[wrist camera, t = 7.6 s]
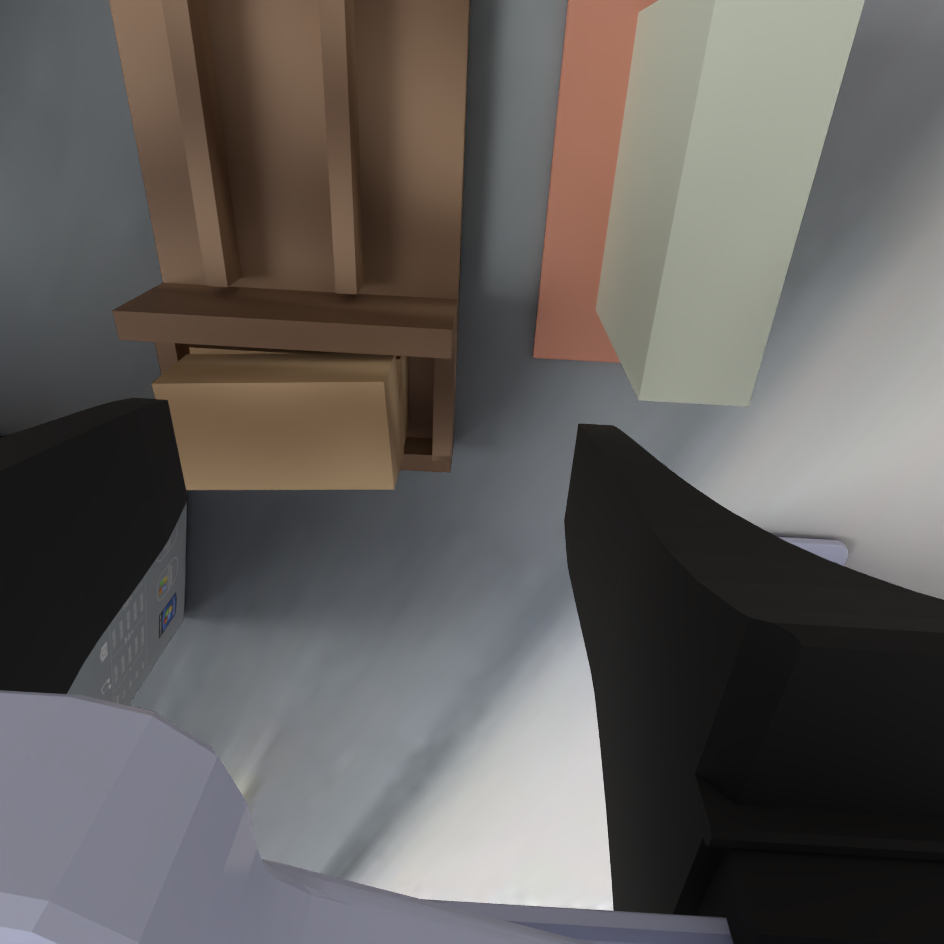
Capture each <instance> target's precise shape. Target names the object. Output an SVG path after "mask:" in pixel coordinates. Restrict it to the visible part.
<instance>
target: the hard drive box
mask: <svg viewBox="0 0 944 944" xmlns="http://www.w3.org/2000/svg"><path fill="white" fill-rule="evenodd" d="M0 438H1V437H0ZM186 491H187V490H186ZM186 516H187V502H186V504H185V507H184V509H183V511H182V513H181V516H180V518H179V520H178V522H177V524H176V526H175V528H174V530H173V532H172V534H171V536H170V538H169V540H168V542H167V544H166V545H165V547H164V548H163V550H162V551H161V553H160V554H159V556H158V557H157V558H156V560H155V561H154V563H153V564H152V566H151V567H150V568H149V570H148V571H147V573H146V574H145V576H144V577H143V579H142V580H141V581H140V583H139V584H138V586H137V587H136V588H135V590H134V591H133V593H132V594H131V595H130V597H129V598H128V600H127V601H126V602H125V604H124V605H123V607H122V608H121V609H120V611H119V612H118V614H117V615H116V616H115V618H114V619H113V621H112V622H111V624H110V625H109V626H108V628H107V629H106V631H105V632H104V633H103V635H102V636H101V638H100V639H99V640H98V642H97V644H96V645H95V647H94V648H93V650H92V651H91V653H90V654H89V656H88V658H87V659H86V661H85V662H84V664H83V666H82V667H81V669H80V671H79V673H78V675H77V677H76V678H75V680H74V682H73V684H72V686H71V687H70V689H69V691H68V693H67V694H70V695H83V696H87V697H92V698H96V699H100V700H105V701H109V702H114V703H118V704H122V705H127V706H128V705H129V703H130V702H131V700H132V699H133V697H134V696H135V694H136V693H137V691H138V690H139V688H140V686H141V685H142V683H143V682H144V680H145V679H146V677H147V676H148V674H149V673H150V671H151V669H152V668H153V666H154V664H155V662H156V661H157V659H158V658H159V656H160V655H161V654H162V652H163V650H164V649H165V647H166V646H167V644H168V643H169V641H170V640H171V638H172V637H173V635H174V634H175V632H176V631H177V629H178V628H179V626H180V625H181V623H182V622H183V620H184V599H185V566H186Z"/></svg>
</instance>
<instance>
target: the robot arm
mask: <svg viewBox="0 0 944 944" xmlns="http://www.w3.org/2000/svg"><path fill="white" fill-rule="evenodd" d="M187 500H188V496H187V491H186V486H185V482H184V477H183V472H182V467H181V462H180V457H179V452H178V447H177V443H176V438H175V433H174V428H173V423H172V418H171V413H170V408H169V403H168V400H161V399H144V398H130V399H124V400H119V401H114V402H110V403H107V404H103V405H100V406H96V407H93V408H90V409H86V410H83V411H80V412H77V413H74V414H71V415H68V416H65V417H62V418H59V419H56V420H53V421H50V422H47V423H44V424H41V425H38V426H35V427H32V428H29V429H27V430H24V431H21V432H18V433H15V434H11V435H8V436H5V437H2V438H0V944H944V600H942V599H939V598H935V597H932V596H928V595H925V594H921V593H918V592H915V591H912V590H909V589H905V588H903V587H900V586H897V585H894V584H891V583H888V582H886V581H883V580H880V579H877V578H874V577H871V576H868V575H866V574H863V573H860V572H857V571H855V570H852V569H850V568H847V567H845V563H846V561H847V559H848V556H849V551H848V549H847V547H846V546H845V545H844V544H843V543H842V542H841V541H837V540H823V539H806V538H789V537H777V536H775V535H773V534H771V533H769V532H767V531H765V530H763V529H761V528H759V527H758V526H756V525H754V524H752V523H750V522H749V521H747V520H745V519H743V518H741V517H740V516H738V515H736V514H734V513H732V512H731V511H729V510H728V509H726V508H724V507H723V506H721V505H719V504H718V503H716V502H715V501H713V500H712V499H710V498H709V497H707V496H706V495H705V494H703V493H702V492H700V491H699V490H697V489H696V488H694V487H693V486H691V485H690V484H689V483H687V482H686V481H684V480H683V479H682V478H680V477H679V476H678V475H676V474H675V473H674V472H672V471H671V470H670V469H669V468H667V467H666V466H665V465H663V464H662V463H661V462H660V461H658V460H657V459H656V458H655V457H653V456H652V455H651V454H650V453H648V452H647V451H646V450H645V449H644V448H642V447H641V446H640V445H639V444H637V443H636V442H635V441H634V440H633V439H631V438H630V437H629V436H628V435H626V434H625V433H624V432H622V431H621V430H620V429H618V428H617V427H615V426H611V425H594V424H578V431H577V438H576V444H575V451H574V458H573V465H572V472H571V479H570V486H569V492H568V499H567V506H566V513H565V520H564V523H565V538H566V551H567V563H568V570H569V575H570V579H571V584H572V589H573V593H574V598H575V602H576V607H577V611H578V616H579V620H580V625H581V629H582V634H583V638H584V642H585V647H586V651H587V656H588V660H589V665H590V669H591V675H592V681H593V687H594V692H595V701H596V710H597V720H598V729H599V738H600V748H601V758H602V769H603V780H604V790H605V801H606V813H607V826H608V838H609V851H610V864H611V877H612V892H613V908H614V911H606V910H590V909H573V908H557V907H540V906H524V905H507V904H490V903H474V902H457V901H441V900H424V899H418V898H414V897H410V896H406V895H402V894H398V893H394V892H391V891H387V890H383V889H379V888H375V887H371V886H367V885H363V884H359V883H355V882H352V881H348V880H344V879H340V878H336V877H332V876H328V875H324V874H320V873H316V872H312V871H309V870H305V869H301V868H297V867H293V866H289V865H285V864H281V863H277V862H273V861H268V860H264V859H261V857H260V855H259V853H258V850H257V847H256V843H255V838H254V833H253V828H252V823H251V819H250V814H249V809H248V804H247V802H246V800H245V799H244V797H243V795H242V794H241V792H240V791H239V789H238V787H237V786H236V784H235V783H234V781H233V780H232V778H231V776H230V775H229V773H228V772H227V770H226V768H225V767H224V765H223V764H222V762H221V761H220V759H219V757H218V756H217V754H216V753H215V751H214V750H213V748H212V747H210V746H209V745H207V744H206V743H204V742H202V741H201V740H199V739H197V738H196V737H194V736H193V735H191V734H189V733H188V732H186V731H185V730H183V729H181V728H180V727H178V726H176V725H175V724H173V723H172V722H170V721H168V720H167V719H165V718H163V717H162V716H160V715H159V714H157V713H155V712H153V711H148V710H144V709H140V708H135V707H131V706H127V705H122V704H118V703H114V702H109V701H105V700H100V699H96V698H92V697H87V696H83V695H70V694H67V693H68V691H69V689H70V687H71V686H72V684H73V682H74V680H75V678H76V677H77V675H78V673H79V671H80V669H81V667H82V666H83V664H84V662H85V661H86V659H87V658H88V656H89V654H90V653H91V651H92V650H93V648H94V647H95V645H96V644H97V642H98V640H99V639H100V638H101V636H102V635H103V633H104V632H105V631H106V629H107V628H108V626H109V625H110V624H111V622H112V621H113V619H114V618H115V616H116V615H117V614H118V612H119V611H120V609H121V608H122V607H123V605H124V604H125V602H126V601H127V600H128V598H129V597H130V595H131V594H132V593H133V591H134V590H135V588H136V587H137V586H138V584H139V583H140V581H141V580H142V579H143V577H144V576H145V574H146V573H147V571H148V570H149V568H150V567H151V566H152V564H153V563H154V561H155V560H156V558H157V557H158V556H159V554H160V553H161V551H162V550H163V548H164V547H165V545H166V544H167V542H168V540H169V538H170V536H171V534H172V532H173V530H174V528H175V526H176V524H177V522H178V520H179V518H180V516H181V513H182V511H183V509H184V507H185V504H186V502H187Z"/></svg>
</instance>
